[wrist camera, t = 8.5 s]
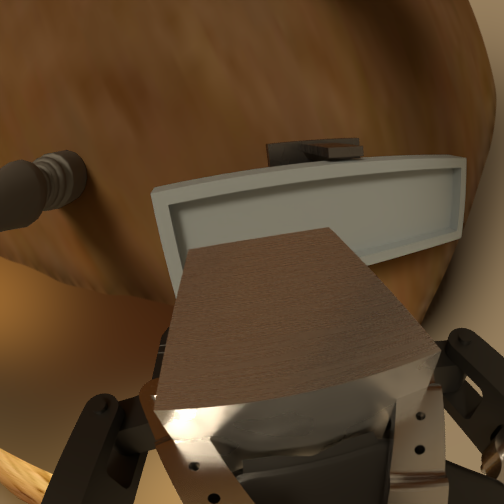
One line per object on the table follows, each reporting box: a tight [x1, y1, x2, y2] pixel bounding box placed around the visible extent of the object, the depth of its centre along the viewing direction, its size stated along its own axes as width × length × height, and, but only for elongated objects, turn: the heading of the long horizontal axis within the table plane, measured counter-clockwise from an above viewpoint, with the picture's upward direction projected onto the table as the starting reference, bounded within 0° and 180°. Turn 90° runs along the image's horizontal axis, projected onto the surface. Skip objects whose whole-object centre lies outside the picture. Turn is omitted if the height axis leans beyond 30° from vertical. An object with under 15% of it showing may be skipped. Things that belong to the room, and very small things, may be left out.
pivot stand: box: [266, 138, 364, 167], centre depth 27 cm, size 12×10×9 cm
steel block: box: [153, 227, 441, 472], centre depth 10 cm, size 6×6×8 cm
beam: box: [151, 155, 466, 298], centre depth 24 cm, size 9×30×3 cm, turn 97°
